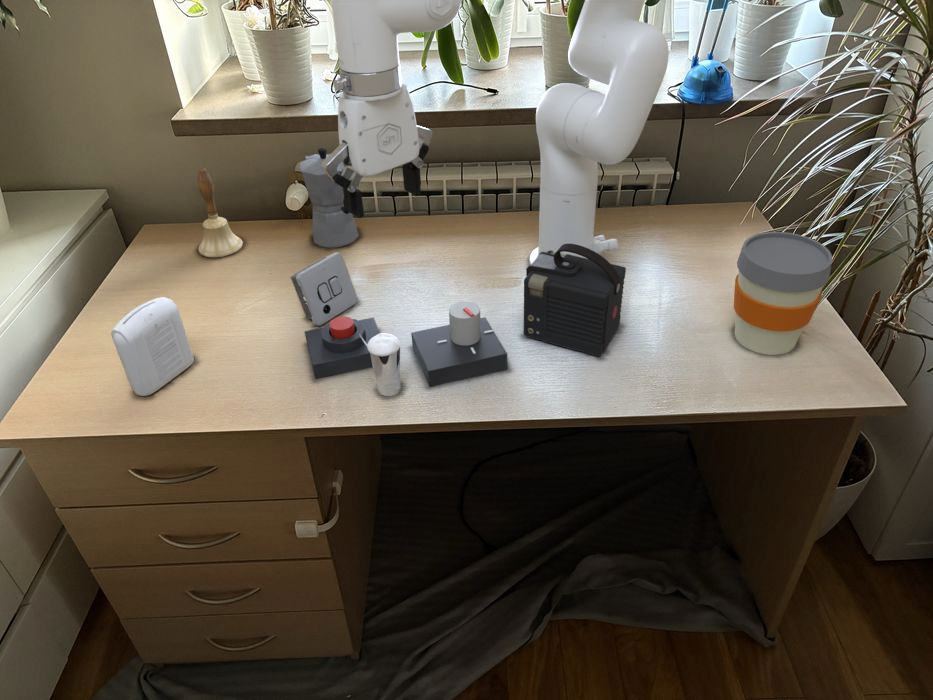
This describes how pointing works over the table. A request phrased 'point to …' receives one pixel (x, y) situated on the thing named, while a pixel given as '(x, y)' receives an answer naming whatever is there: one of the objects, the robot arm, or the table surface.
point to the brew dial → (465, 323)
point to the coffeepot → (327, 204)
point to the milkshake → (385, 362)
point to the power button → (342, 327)
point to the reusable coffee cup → (778, 289)
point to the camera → (573, 299)
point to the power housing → (340, 349)
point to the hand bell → (215, 224)
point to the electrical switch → (325, 289)
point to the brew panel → (457, 355)
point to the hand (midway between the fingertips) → (385, 203)
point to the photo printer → (152, 345)
